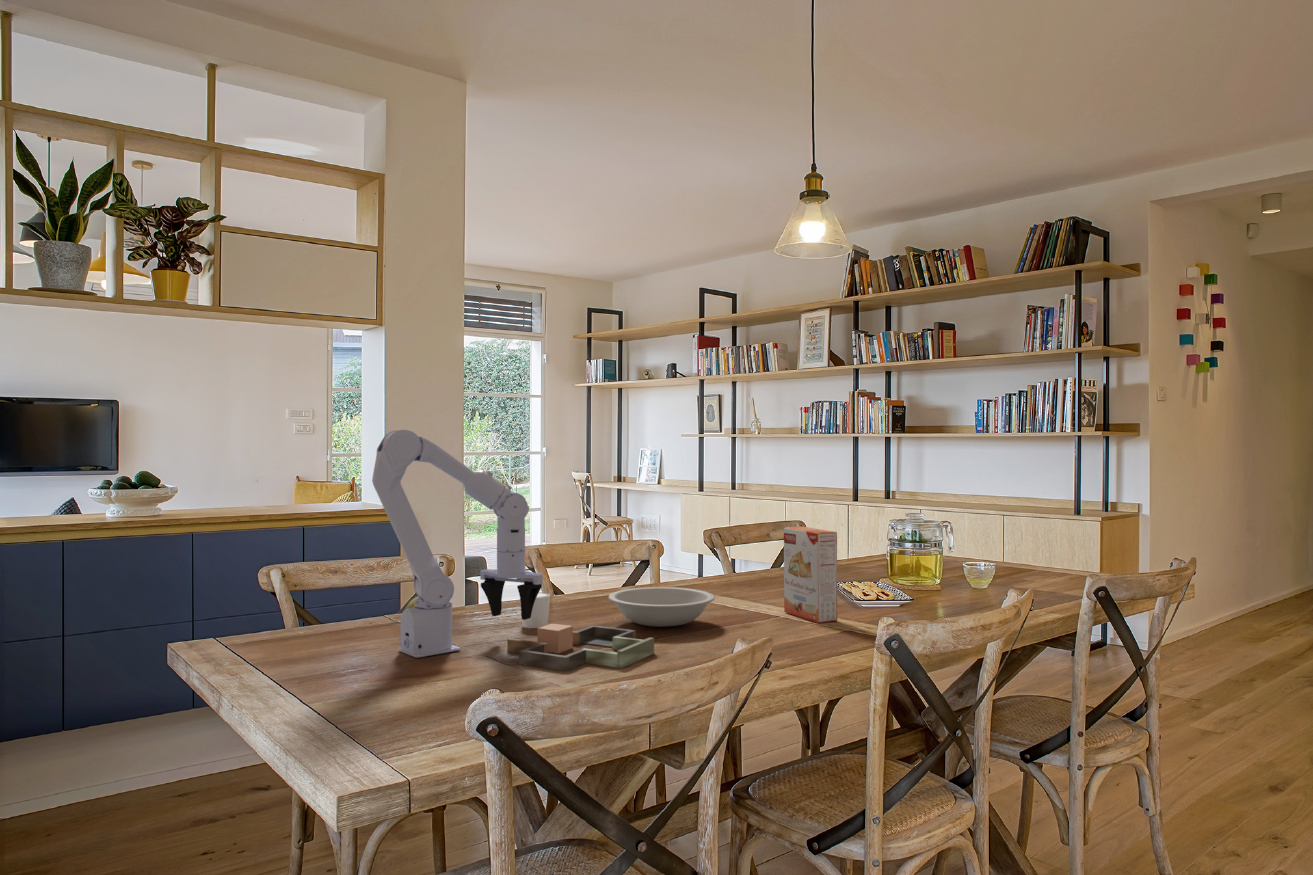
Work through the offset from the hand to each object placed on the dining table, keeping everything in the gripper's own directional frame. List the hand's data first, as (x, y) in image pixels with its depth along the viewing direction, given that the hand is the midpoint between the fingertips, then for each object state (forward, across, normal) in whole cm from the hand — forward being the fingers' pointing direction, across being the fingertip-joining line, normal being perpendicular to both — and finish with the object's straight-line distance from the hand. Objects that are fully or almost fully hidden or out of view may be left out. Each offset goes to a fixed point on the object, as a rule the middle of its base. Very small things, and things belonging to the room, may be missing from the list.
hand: (511, 616), depth 173 cm
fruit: (+5, +22, +2) cm, 23 cm away
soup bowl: (+6, -19, -30) cm, 36 cm away
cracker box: (+6, -46, -55) cm, 72 cm away
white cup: (+6, +6, -16) cm, 18 cm away
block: (+6, -11, 0) cm, 12 cm away
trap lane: (+5, -17, 0) cm, 18 cm away
